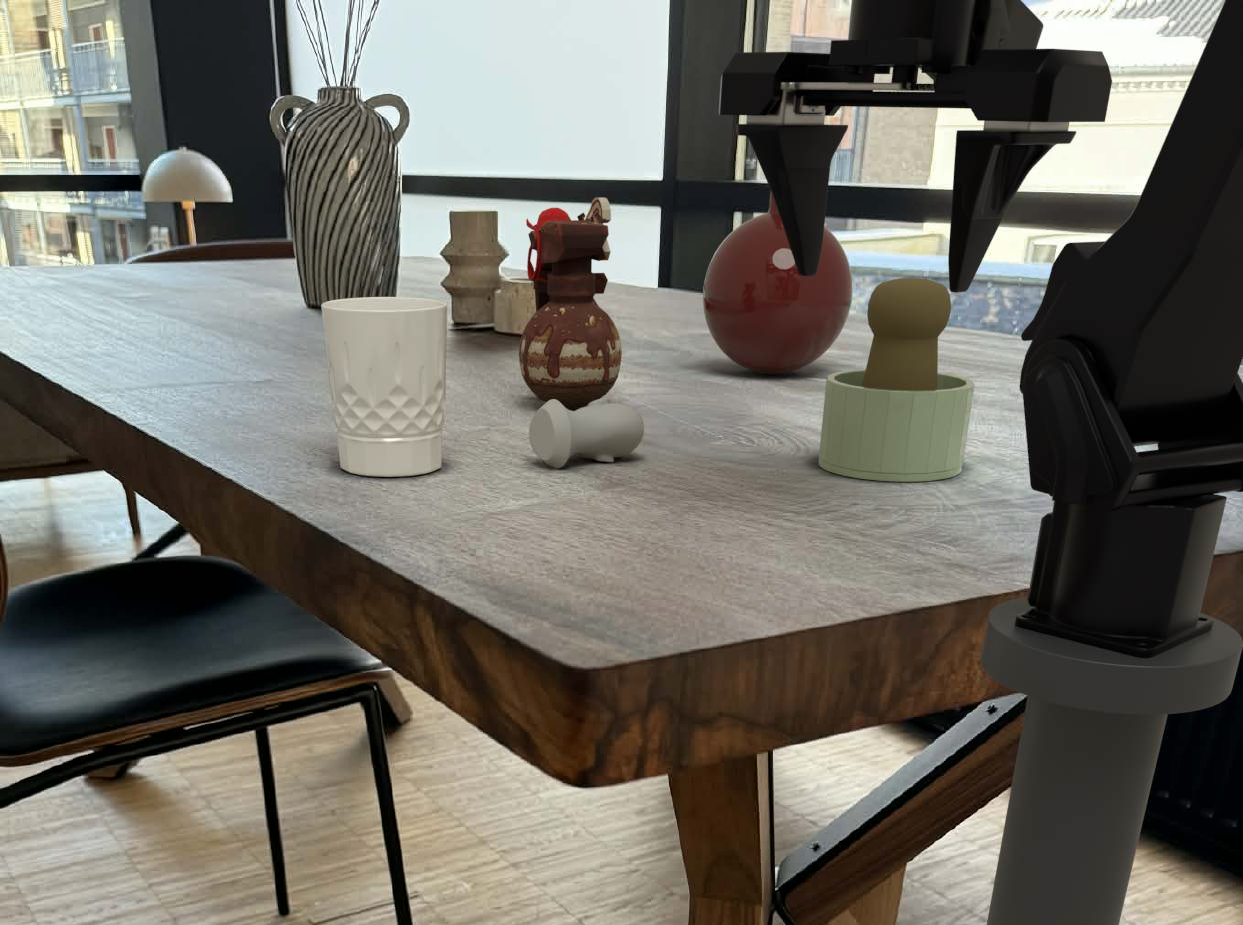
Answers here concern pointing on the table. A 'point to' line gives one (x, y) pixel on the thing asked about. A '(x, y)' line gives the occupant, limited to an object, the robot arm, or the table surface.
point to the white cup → (387, 382)
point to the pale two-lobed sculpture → (585, 431)
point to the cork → (906, 334)
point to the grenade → (569, 310)
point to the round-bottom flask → (774, 297)
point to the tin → (894, 429)
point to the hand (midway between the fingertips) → (880, 283)
